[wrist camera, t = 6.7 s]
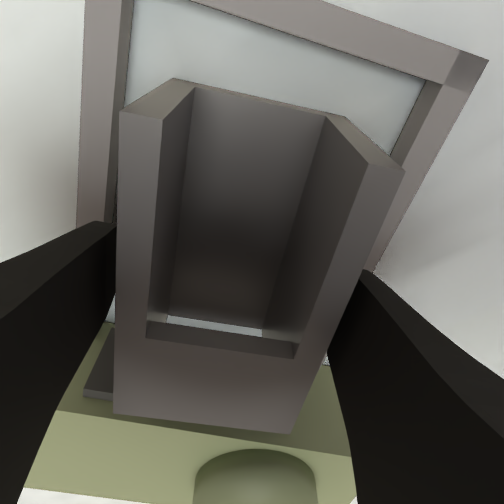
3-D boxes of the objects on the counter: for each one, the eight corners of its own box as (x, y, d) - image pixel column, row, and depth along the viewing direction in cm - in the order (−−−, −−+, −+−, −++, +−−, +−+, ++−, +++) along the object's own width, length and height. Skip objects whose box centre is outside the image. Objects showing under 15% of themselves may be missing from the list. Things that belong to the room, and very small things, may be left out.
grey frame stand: (537, 82, 10) (745, 119, 6) (315, 435, 19) (334, 556, 14) (3, -107, 8) (-271, -260, 4) (27, 388, 17) (-49, 511, 12)
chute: (173, 77, 10) (119, 110, 6) (343, 115, 11) (405, 171, 6) (153, 298, 14) (112, 413, 10) (277, 318, 15) (289, 434, 11)
